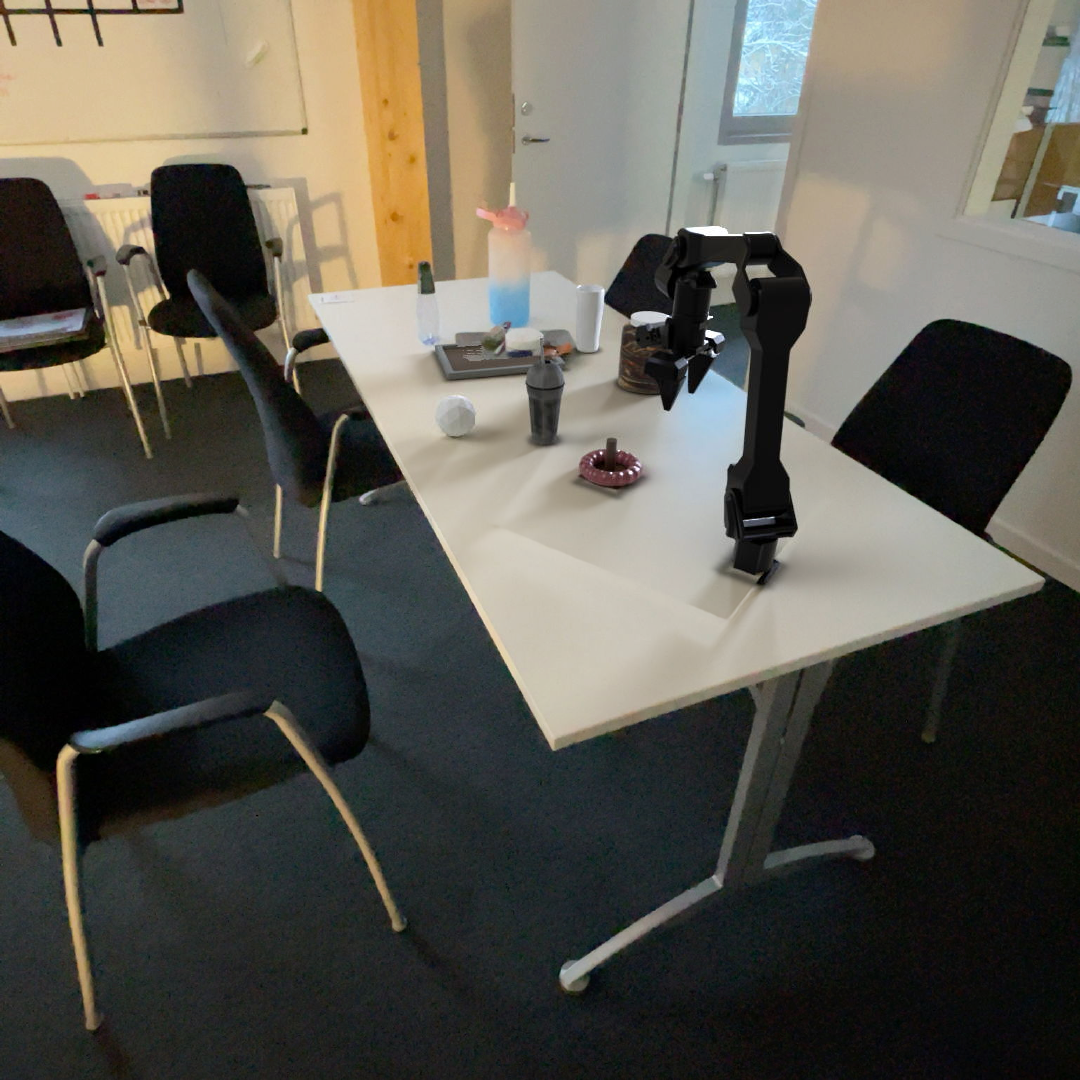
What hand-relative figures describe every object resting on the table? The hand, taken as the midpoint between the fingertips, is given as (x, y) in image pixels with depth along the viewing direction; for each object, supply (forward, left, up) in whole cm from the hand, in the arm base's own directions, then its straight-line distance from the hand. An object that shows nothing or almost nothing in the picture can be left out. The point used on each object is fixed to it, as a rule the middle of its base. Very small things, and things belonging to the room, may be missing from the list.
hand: (679, 401), depth 128 cm
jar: (+30, +22, -12) cm, 39 cm away
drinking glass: (+41, +44, -12) cm, 61 cm away
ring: (-12, +6, -10) cm, 16 cm away
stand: (-12, +6, -12) cm, 18 cm away
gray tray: (+23, +56, -12) cm, 62 cm away
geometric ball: (-14, +39, -12) cm, 43 cm away
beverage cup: (-6, +24, -12) cm, 28 cm away
